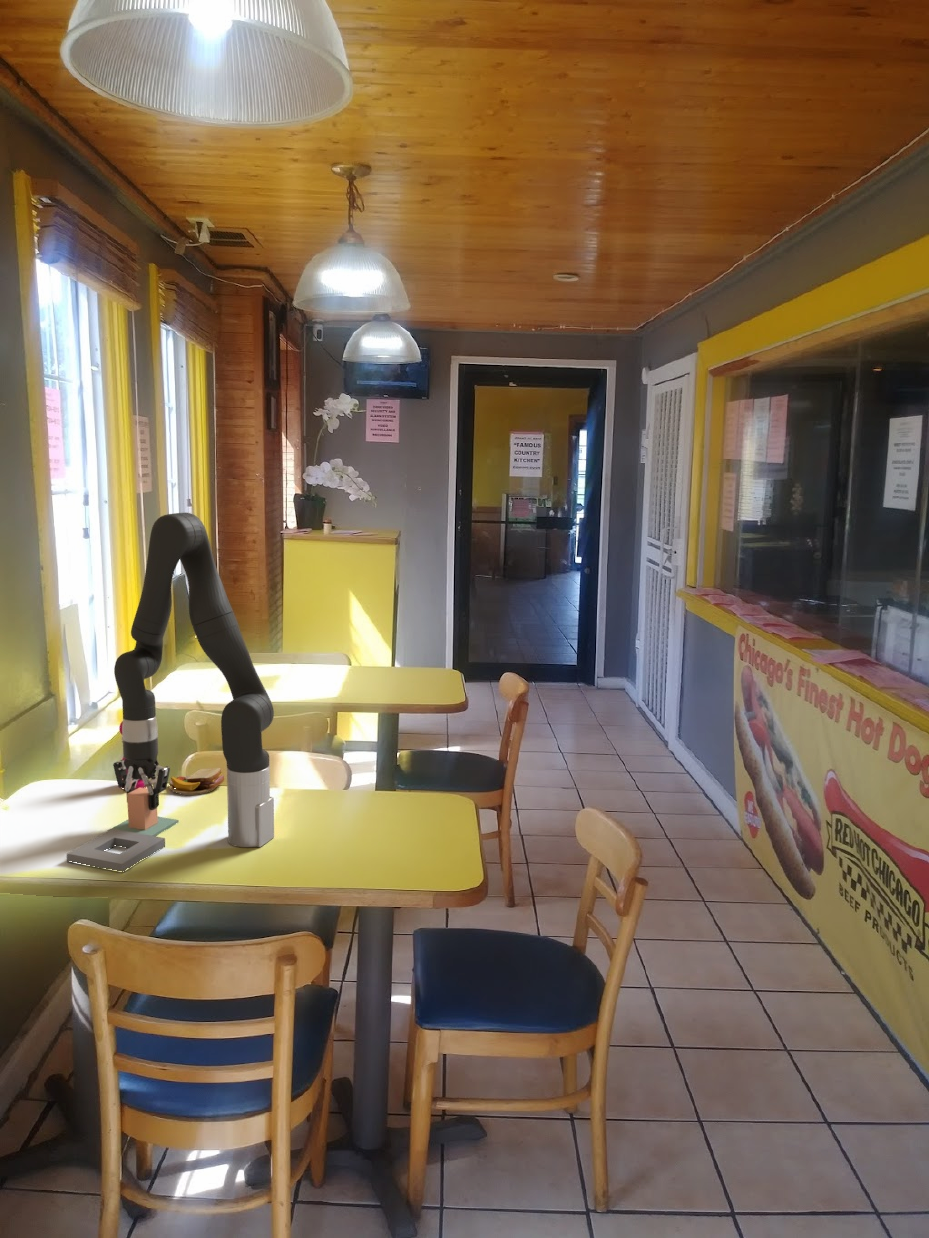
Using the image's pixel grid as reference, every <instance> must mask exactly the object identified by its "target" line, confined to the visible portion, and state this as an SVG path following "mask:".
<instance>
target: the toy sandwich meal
mask: <svg viewBox="0 0 929 1238" xmlns="http://www.w3.org/2000/svg"><path fill="white" fill-rule="evenodd" d="M224 780H225V776H224V774H223V772H222V769H221V767H216V768H201V769H198V770H196V771H195V772H193V773H192V774H191V775H186V776H177V777H175V776H171V777H170V780H168V788H169V789H170V791H172V792H173V791H174V792H173V793H175V792H177V793H181V794H186V795H185V796H195V795H202V794H206V793H209V792H212V791H214V790H215V789H216V788H217V787H218V786H220V785H221V784H223V782H224ZM169 785H170V786H169ZM174 788H176V789H174ZM177 793H176V794H177ZM181 794H180V795H181Z"/></svg>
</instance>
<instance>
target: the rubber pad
mask: <svg viewBox="0 0 929 1238" xmlns="http://www.w3.org/2000/svg"><path fill="white" fill-rule="evenodd" d="M176 823H177V824H178V823H179V819H175V818H171V817H170V818H169V817H163V816H158V823H156V824H155V825H153V826H151V827H149V828H148V829H146V830H143V829H136V828H130V827H129V822H128V819H126V820H124V821H123V822H121V823H118V824H117V825H115V826H113V827H112V828H110V829H108V830H107V831H109V830H111V829H116V830H122V831H128V832H133V833H139V834H145V835H150V836H156V835H157V834H158V835H160V834H161V833H160V832H162V831H163V832H165V831H167V830H168V829H170V828H171V827H174V826H176V825H177V824H176ZM166 829H167V830H166ZM164 830H165V831H164ZM163 832H162V833H163ZM159 833H160V834H159ZM158 835H157V836H158ZM157 836H156V837H157Z"/></svg>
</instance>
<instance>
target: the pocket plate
mask: <svg viewBox="0 0 929 1238" xmlns="http://www.w3.org/2000/svg"><path fill="white" fill-rule="evenodd" d="M110 829H111V828H110ZM108 830H109V829H108ZM108 830H107V831H105V832H103V833H102V834H100V835H98V836H96V837H94V838H93V839H90V840H89V841H87V842H85V843H84V844H83V843H82V845H80V846H78V847H76V848H74V849H72V850H71V851H69V852H67V853H66V861H67V860H68V861H72V862H77V863H81V864H86V865H90V866H95V867H99V868H106V869H112V870H117V871H122V872H123V871H125V870H126V869H127V868H130V867H131V866H133V865H134V864H136V863H137V862H139V861H140V860H142V859H144V858H146V857H148V856H150V855H151V854H153V853H154V852H156V851H157V850H159V849H161V850H162V849H164V848H166V838H165V837H162V836H150V835H145V834H139V833H133V832H128V831H122V830H116V829H111V830H109V831H108ZM114 845H116V846H114ZM113 846H114V847H117V846H122V847H126V848H125V850H124V851H122V852H120V853H116V852H112V851H111V852H110V851H104V850H106V849H109V848H111V847H113ZM114 847H113V848H114ZM122 847H121V848H122ZM163 847H164V848H163ZM128 848H129V849H128ZM111 849H112V848H111ZM109 850H110V849H109ZM159 851H160V850H159ZM156 853H157V852H156ZM154 854H155V853H154ZM154 854H153V855H154ZM151 856H152V855H151ZM151 856H150V857H151ZM148 858H149V857H148ZM146 859H147V858H146ZM99 868H98V869H99ZM130 869H131V868H130Z"/></svg>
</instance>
